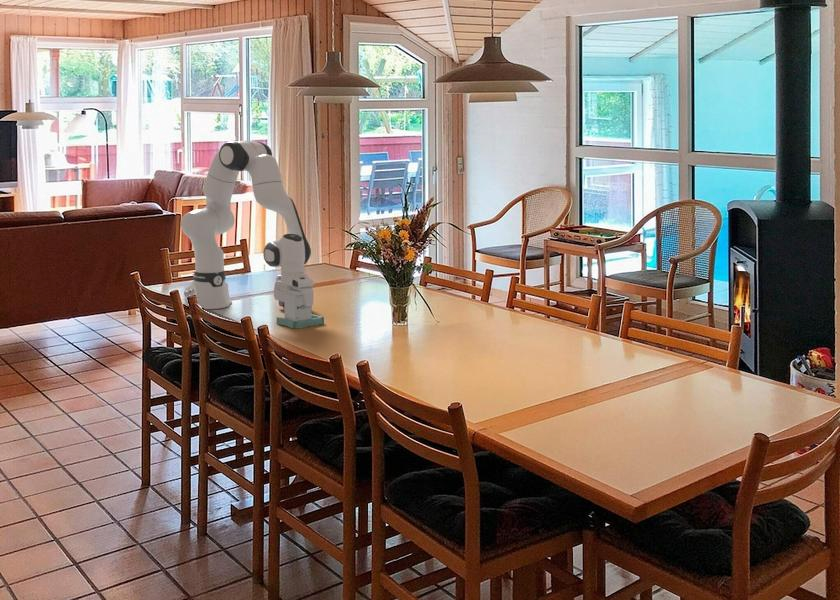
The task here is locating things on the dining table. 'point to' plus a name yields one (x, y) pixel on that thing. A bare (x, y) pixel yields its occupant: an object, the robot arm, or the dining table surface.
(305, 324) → the tray
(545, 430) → the dining table surface
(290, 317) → the supplement box
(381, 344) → the dining table surface
